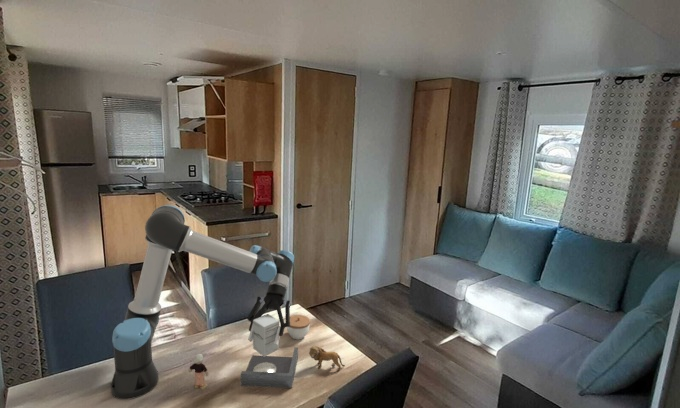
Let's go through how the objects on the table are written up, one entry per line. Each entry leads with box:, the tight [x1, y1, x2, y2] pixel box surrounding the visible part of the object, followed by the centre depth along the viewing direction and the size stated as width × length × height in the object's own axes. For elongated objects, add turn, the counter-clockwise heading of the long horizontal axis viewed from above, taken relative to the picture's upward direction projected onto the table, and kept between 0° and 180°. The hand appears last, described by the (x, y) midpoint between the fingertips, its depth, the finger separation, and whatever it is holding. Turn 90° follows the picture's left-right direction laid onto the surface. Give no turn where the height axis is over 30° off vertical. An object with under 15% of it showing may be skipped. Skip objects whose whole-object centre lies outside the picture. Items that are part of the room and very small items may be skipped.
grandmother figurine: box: [188, 353, 209, 390], centre depth 131 cm, size 8×4×13 cm, turn 90°
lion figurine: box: [308, 345, 345, 372], centre depth 146 cm, size 15×5×9 cm, turn 93°
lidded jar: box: [286, 314, 311, 340], centre depth 167 cm, size 11×11×9 cm
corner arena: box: [240, 347, 299, 389], centre depth 142 cm, size 19×18×5 cm
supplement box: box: [252, 313, 280, 357], centre depth 139 cm, size 7×7×13 cm
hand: (262, 342), depth 137 cm, fingers closed on supplement box, 10 cm apart
